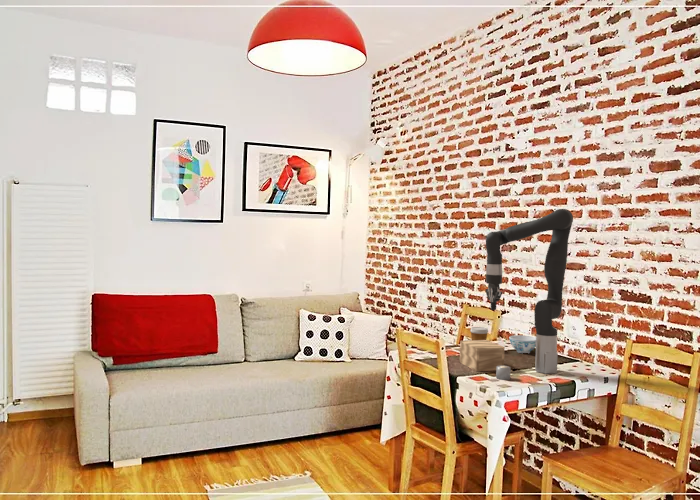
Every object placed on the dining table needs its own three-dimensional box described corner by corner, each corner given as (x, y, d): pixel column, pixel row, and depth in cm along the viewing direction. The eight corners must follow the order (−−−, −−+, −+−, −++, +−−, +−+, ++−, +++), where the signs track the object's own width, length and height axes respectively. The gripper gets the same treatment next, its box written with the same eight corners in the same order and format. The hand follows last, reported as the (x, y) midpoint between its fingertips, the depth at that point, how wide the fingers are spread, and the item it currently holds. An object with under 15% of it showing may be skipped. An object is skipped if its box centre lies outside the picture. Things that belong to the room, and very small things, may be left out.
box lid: (504, 348, 281) (504, 347, 281) (476, 349, 277) (476, 348, 277) (486, 341, 298) (486, 339, 298) (460, 341, 295) (460, 340, 295)
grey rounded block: (512, 379, 264) (513, 368, 263) (500, 380, 262) (500, 368, 262) (505, 376, 269) (506, 365, 269) (493, 376, 268) (494, 365, 268)
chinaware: (521, 356, 312) (521, 341, 311) (502, 350, 325) (503, 336, 325) (544, 354, 318) (544, 339, 317) (525, 348, 331) (525, 334, 331)
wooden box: (503, 369, 281) (504, 348, 281) (476, 371, 278) (476, 349, 277) (485, 361, 299) (486, 341, 298) (459, 362, 295) (460, 342, 295)
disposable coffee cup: (466, 350, 324) (466, 328, 323) (475, 348, 331) (476, 326, 330) (481, 353, 317) (482, 330, 317) (491, 350, 324) (491, 328, 324)
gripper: (508, 274, 282) (507, 311, 283) (494, 272, 295) (493, 307, 296) (493, 274, 280) (492, 312, 281) (480, 272, 293) (479, 308, 294)
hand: (493, 309), depth 288 cm, fingers closed
